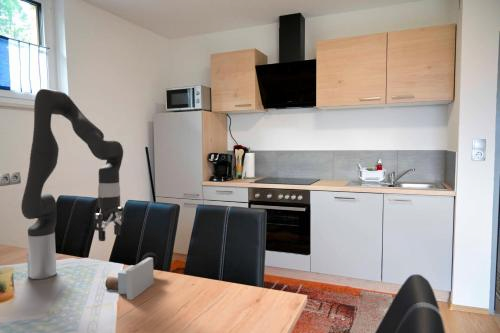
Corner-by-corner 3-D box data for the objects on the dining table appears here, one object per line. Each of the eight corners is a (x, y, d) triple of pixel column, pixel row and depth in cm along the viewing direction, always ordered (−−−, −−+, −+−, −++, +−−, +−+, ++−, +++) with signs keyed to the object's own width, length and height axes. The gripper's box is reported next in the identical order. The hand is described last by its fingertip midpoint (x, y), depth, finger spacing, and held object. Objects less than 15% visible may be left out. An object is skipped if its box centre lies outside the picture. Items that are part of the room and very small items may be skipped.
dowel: (105, 289, 123) (105, 279, 123) (112, 285, 127) (112, 275, 127) (131, 292, 120) (131, 281, 120) (138, 288, 124) (138, 278, 124)
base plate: (126, 299, 115) (126, 270, 114) (148, 282, 128) (148, 257, 128) (132, 299, 114) (131, 271, 114) (153, 283, 128) (152, 257, 127)
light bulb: (155, 280, 131) (154, 255, 130) (140, 280, 131) (139, 255, 130) (159, 274, 137) (158, 250, 136) (145, 274, 137) (144, 250, 136)
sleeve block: (118, 293, 119) (117, 272, 119) (131, 284, 127) (131, 265, 126) (132, 295, 118) (131, 274, 117) (144, 285, 125) (144, 266, 125)
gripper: (113, 191, 132) (113, 232, 133) (86, 197, 118) (87, 242, 119) (129, 192, 130) (130, 233, 131) (105, 198, 116) (105, 244, 117)
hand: (109, 237), depth 125 cm, fingers open, 8 cm apart
